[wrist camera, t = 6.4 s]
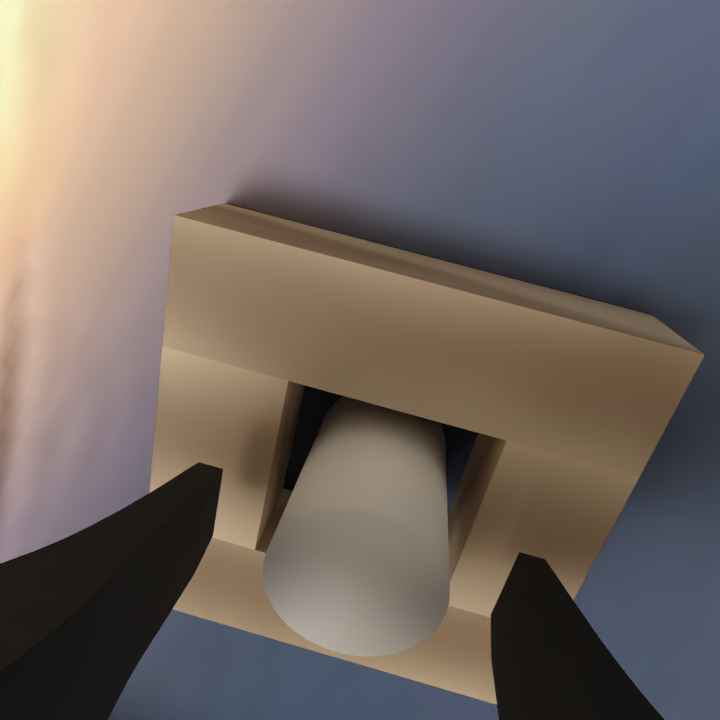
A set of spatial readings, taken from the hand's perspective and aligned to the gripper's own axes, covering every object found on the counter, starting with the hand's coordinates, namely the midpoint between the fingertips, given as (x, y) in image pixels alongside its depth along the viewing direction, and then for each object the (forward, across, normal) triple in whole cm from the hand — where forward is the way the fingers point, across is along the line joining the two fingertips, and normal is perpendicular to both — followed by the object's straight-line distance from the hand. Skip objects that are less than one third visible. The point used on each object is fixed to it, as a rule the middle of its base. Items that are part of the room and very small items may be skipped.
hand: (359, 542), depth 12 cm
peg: (+5, 0, 0) cm, 5 cm away
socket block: (+5, 0, 0) cm, 5 cm away
